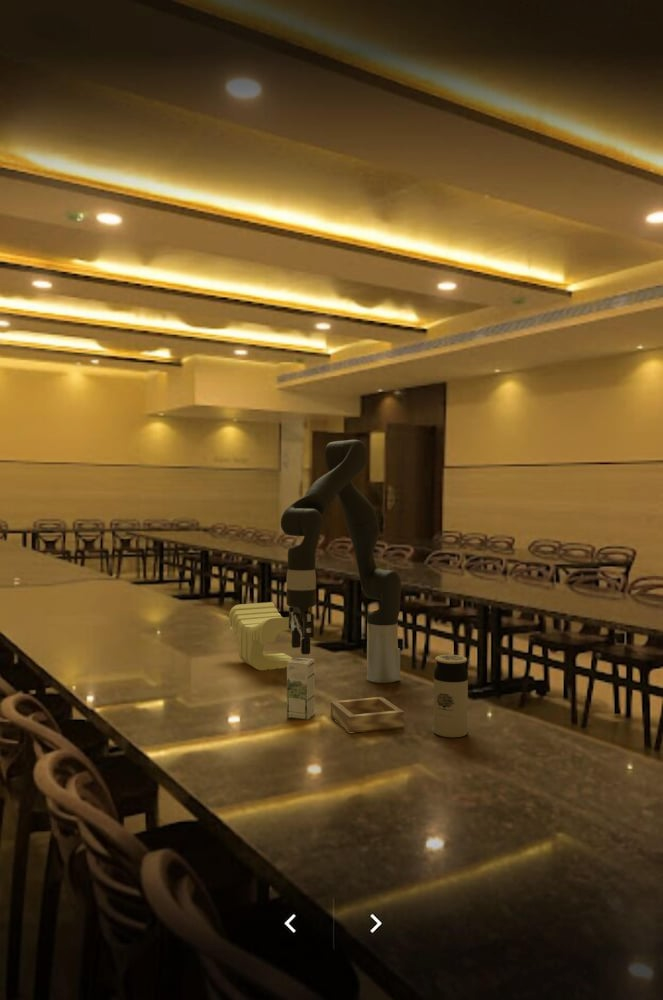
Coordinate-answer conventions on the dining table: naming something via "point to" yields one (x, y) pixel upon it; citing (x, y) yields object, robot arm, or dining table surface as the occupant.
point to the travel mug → (450, 696)
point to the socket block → (367, 714)
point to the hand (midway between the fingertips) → (300, 650)
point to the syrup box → (300, 688)
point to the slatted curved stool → (258, 633)
